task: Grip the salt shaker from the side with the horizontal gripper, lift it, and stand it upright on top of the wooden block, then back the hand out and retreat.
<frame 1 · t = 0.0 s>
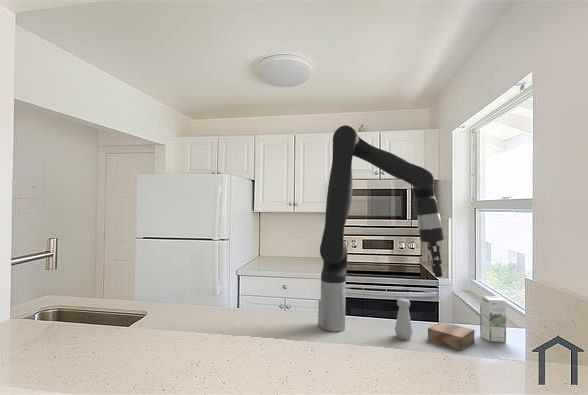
hand: (437, 274, 109), 22 cm above the countertop, tool pointing down, fingers open, 8 cm apart
salt shaker: (403, 338, 111), on the countertop
wooden block: (451, 340, 109), on the countertop
syrup box: (493, 340, 111), on the countertop
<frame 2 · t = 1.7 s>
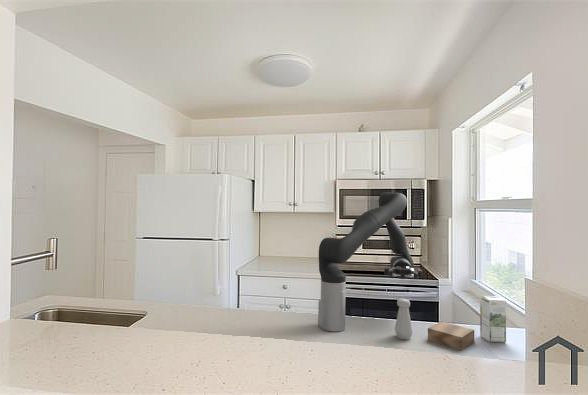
hand: (403, 274, 122), 20 cm above the countertop, tool horizontal, fingers open, 8 cm apart
nothing on the countertop moved.
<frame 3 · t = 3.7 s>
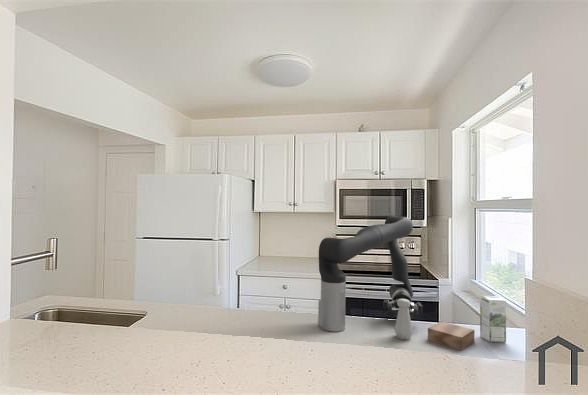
hand: (402, 310, 119), 7 cm above the countertop, tool horizontal, fingers open, 8 cm apart
nothing on the countertop moved.
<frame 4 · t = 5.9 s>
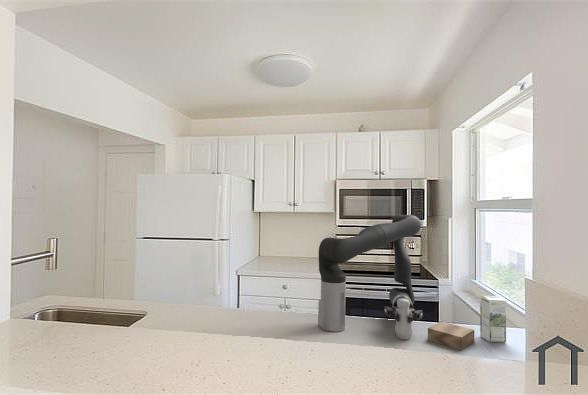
hand: (403, 319, 108), 7 cm above the countertop, tool horizontal, fingers closed on salt shaker, 3 cm apart
salt shaker: (403, 338, 111), on the countertop, touching gripper
everything else where it was.
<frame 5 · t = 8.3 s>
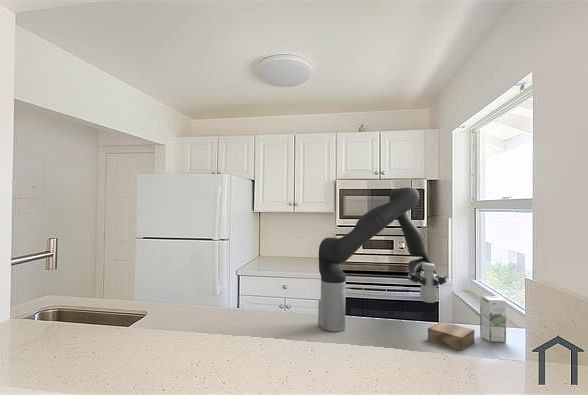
hand: (429, 282, 108), 20 cm above the countertop, tool horizontal, fingers closed on salt shaker, 3 cm apart
salt shaker: (428, 301, 111), point 13 cm above the countertop, touching gripper
everything else where it was.
when the fingers open (12 cm above the countertop, at t = 10.5 s): salt shaker stays where it is, resting on wooden block.
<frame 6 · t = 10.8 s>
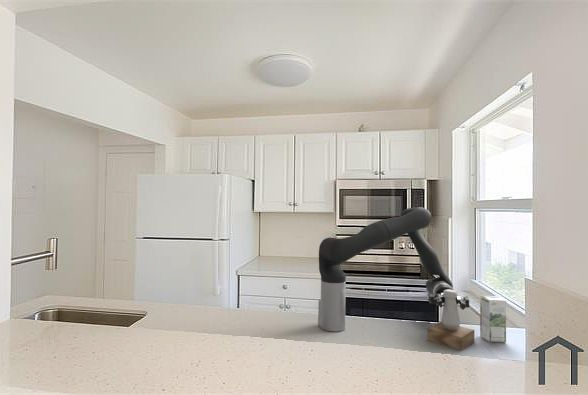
hand: (452, 305, 107), 13 cm above the countertop, tool horizontal, fingers open, 6 cm apart
salt shaker: (450, 329, 109), point 4 cm above the countertop, touching wooden block
everything else where it was.
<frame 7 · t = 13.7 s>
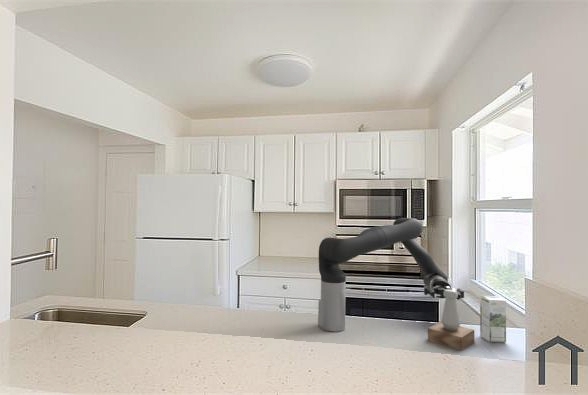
hand: (445, 295, 120), 13 cm above the countertop, tool horizontal, fingers open, 8 cm apart
nothing on the countertop moved.
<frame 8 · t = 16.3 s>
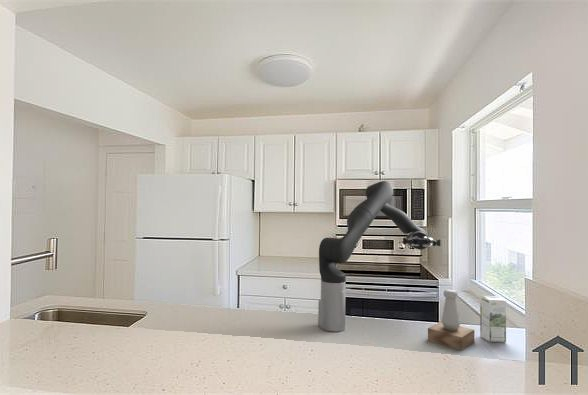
hand: (422, 242, 124), 32 cm above the countertop, tool horizontal, fingers open, 8 cm apart
nothing on the countertop moved.
at the end: salt shaker inside the target area on the wooden block (0.1 cm from its centre), point 3.8 cm above the wooden block's base; salt shaker tilted 0°; the gripper is holding nothing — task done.
